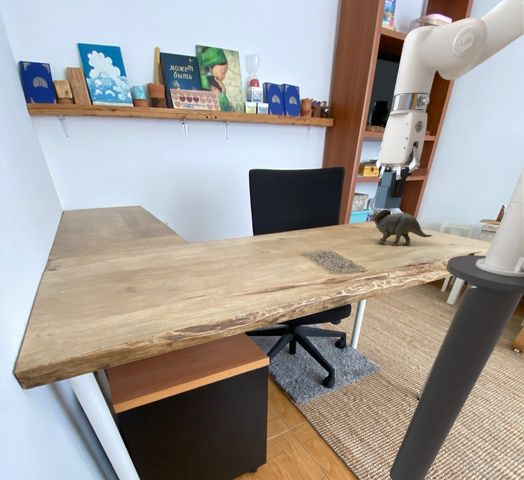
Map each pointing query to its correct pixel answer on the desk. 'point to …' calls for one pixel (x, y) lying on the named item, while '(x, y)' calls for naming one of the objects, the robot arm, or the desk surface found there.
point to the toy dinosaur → (396, 225)
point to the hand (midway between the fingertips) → (389, 195)
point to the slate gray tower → (386, 192)
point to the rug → (334, 261)
